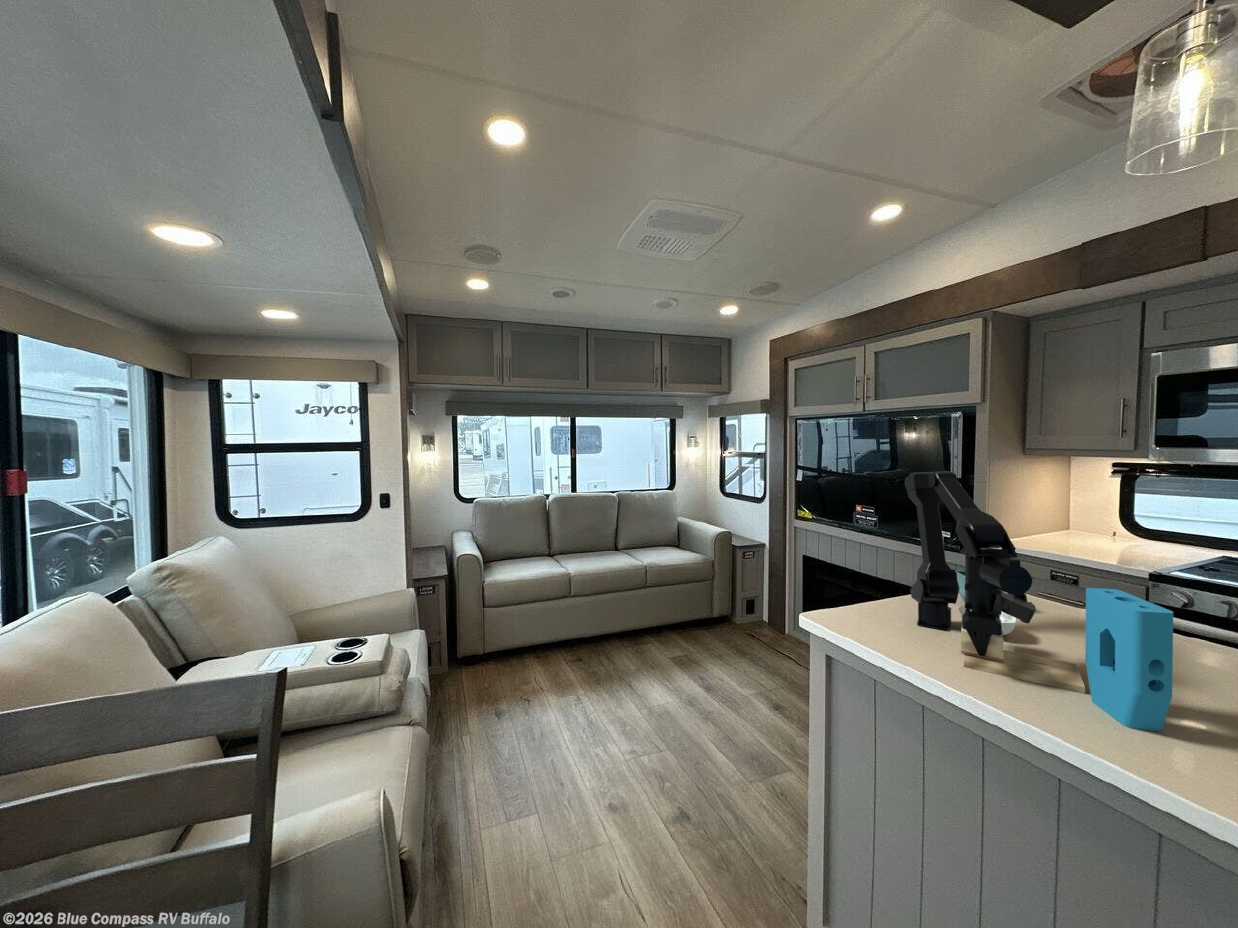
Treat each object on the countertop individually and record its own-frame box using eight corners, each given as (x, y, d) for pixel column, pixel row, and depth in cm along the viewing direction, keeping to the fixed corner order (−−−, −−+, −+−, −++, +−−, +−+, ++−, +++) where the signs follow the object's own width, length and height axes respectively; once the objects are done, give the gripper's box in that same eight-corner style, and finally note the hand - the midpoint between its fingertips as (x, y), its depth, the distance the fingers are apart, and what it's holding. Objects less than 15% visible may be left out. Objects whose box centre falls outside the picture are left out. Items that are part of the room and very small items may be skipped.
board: (963, 666, 96) (963, 660, 96) (965, 647, 105) (965, 642, 105) (1085, 693, 85) (1085, 687, 85) (1076, 669, 93) (1076, 663, 93)
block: (1082, 694, 85) (1083, 587, 84) (1116, 697, 83) (1117, 589, 82) (1134, 734, 73) (1136, 611, 72) (1175, 738, 72) (1177, 613, 71)
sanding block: (961, 653, 99) (961, 630, 99) (962, 645, 102) (962, 623, 102) (1003, 661, 94) (1003, 638, 94) (1003, 653, 98) (1003, 630, 98)
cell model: (991, 645, 105) (990, 616, 105) (948, 624, 117) (948, 598, 117) (1030, 641, 106) (1030, 612, 106) (984, 622, 118) (984, 596, 118)
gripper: (1036, 599, 85) (1036, 680, 86) (1029, 574, 100) (1029, 644, 101) (961, 588, 92) (962, 664, 93) (965, 567, 107) (965, 633, 108)
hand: (982, 651), depth 98 cm, fingers closed on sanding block, 4 cm apart
